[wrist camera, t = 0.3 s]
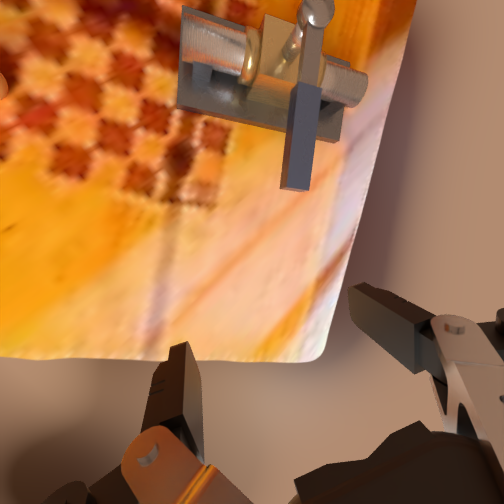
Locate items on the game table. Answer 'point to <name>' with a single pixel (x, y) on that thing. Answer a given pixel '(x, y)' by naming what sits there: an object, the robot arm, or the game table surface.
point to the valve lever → (305, 97)
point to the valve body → (257, 73)
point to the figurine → (3, 87)
